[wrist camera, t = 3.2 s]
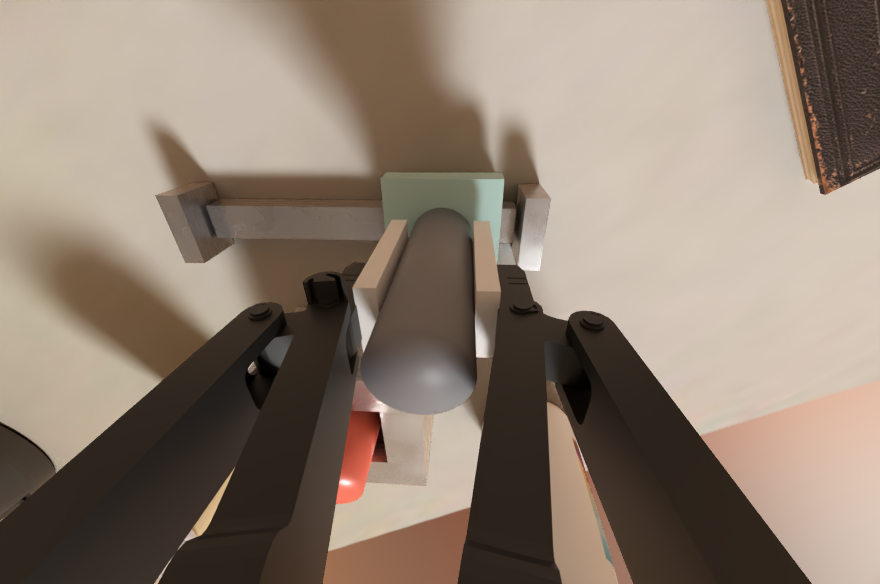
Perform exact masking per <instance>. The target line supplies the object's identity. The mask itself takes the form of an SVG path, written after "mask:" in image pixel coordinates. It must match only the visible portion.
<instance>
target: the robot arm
mask: <svg viewBox="0 0 880 584" xmlns="http://www.w3.org/2000/svg"><path fill="white" fill-rule="evenodd" d="M408 239H409V238H408V222H407V220H391V222H390V224H389V225H388V227H387V229H386V231H385V232H384V234H383V236H382V237H381V239H380V241H379V243H378V244H377V246H376V248H375V250H374V251H373V253H372V255H371V256H370V258H369V260H368V262H367V263H353V264H351V265H350V266H348V267H346V268H345V270H344V271H343V273H342V274H340V273H337V272H322V273H318V274H314V275H312V276H310V277H308V278H306V279H305V280H304V281H303V286H304V290H305V293H306V297H307V301H308V306H307V308H306V310H304V311H300V312H293V313H287V314H284V312H283V308H282V306H280V305H279V304H276V303H261V304H260V303H259V304H256V305H254V306H252V307H249V308H247V309H246V310H244V311H243V312H241V313H240V314H239V315H238V316H237V317H235V318H234V319H233V320H232V321H231V322H230V323H229V324H227V325H226V326H225V327H224V328H223V329H222V330H220V331H219V332H218V333H217V334H216V335H215V336H214V337H212V338H211V339H210V340H209V341H208V342H207V343H205V344H204V345H203V346H202V347H201V348H200V349H199V350H197V351H196V352H195V353H194V354H193V355H192V356H191V357H189V358H188V359H187V360H186V361H185V362H184V363H182V364H181V365H180V366H179V367H178V368H177V369H176V370H174V371H173V372H172V373H171V374H170V375H169V376H168V377H166V378H165V379H164V380H163V381H162V382H161V383H159V384H158V385H157V386H156V387H155V388H154V389H153V390H151V391H150V392H149V393H148V394H147V395H146V396H144V397H143V398H142V399H141V400H140V401H139V402H138V403H136V404H135V405H134V406H133V407H132V408H131V409H130V410H128V411H127V412H126V413H125V414H124V415H123V416H121V417H120V418H119V419H118V420H117V421H116V422H115V423H113V424H112V425H111V426H110V427H109V428H108V429H106V430H105V431H104V432H103V433H102V434H101V435H100V436H98V437H97V438H96V439H95V440H94V441H93V442H92V443H90V444H89V445H88V446H87V447H86V448H85V449H83V450H82V451H81V452H80V453H79V454H78V455H77V456H75V457H74V458H73V459H72V460H71V461H70V462H68V463H67V464H66V465H65V466H64V467H63V468H62V469H60V470H59V471H58V472H57V473H56V474H55V469H54V467H53V465H52V463H51V462H50V461H49V459H48V458H47V457H46V456H45V455H44V454H43V453H42V452H41V451H40V450H39V449H37V448H36V447H35V446H34V445H32V444H31V443H30V442H28V441H27V440H25V439H24V438H22V437H21V436H19V435H17V434H16V433H14V432H12V431H10V430H8V429H6V428H5V427H3V426H1V425H0V520H1V519H3V518H4V517H5V518H4V519H3V520H2V521H1V522H0V584H154V583H155V581H156V580H157V578H158V577H159V576H160V574H161V573H162V571H163V570H164V568H165V567H166V566H167V564H168V563H169V564H168V566H167V567H166V569H165V571H164V573H163V575H162V577H161V579H160V581H159V583H158V584H323V577H324V571H325V565H326V559H327V553H328V547H329V541H330V535H331V529H332V523H333V517H334V511H335V505H336V499H337V493H338V487H339V481H340V474H341V468H342V462H343V456H344V450H345V444H346V438H347V432H348V426H349V420H350V414H351V408H352V402H353V396H354V390H355V384H356V378H357V372H358V366H359V355H358V348H359V345H360V343H361V342H362V348H363V353H364V350H365V348H366V345H367V343H368V340H369V338H370V335H371V333H372V330H373V328H374V325H375V322H376V320H377V317H378V315H379V312H380V310H381V307H382V305H383V302H384V300H385V297H386V295H387V292H388V290H389V287H390V285H391V282H392V280H393V277H394V274H395V272H396V269H397V267H398V264H399V262H400V259H401V257H402V254H403V252H404V249H405V247H406V244H407V242H408ZM473 273H474V306H475V333H476V357H482V358H493V362H492V368H491V375H490V382H489V389H488V395H487V402H486V409H485V415H484V422H483V429H482V436H481V442H480V449H479V456H478V462H477V469H476V476H475V483H474V489H473V496H472V503H471V510H470V516H469V523H468V529H467V536H466V540H465V544H464V548H463V553H462V560H461V565H460V572H459V578H458V584H562V581H561V575H560V570H559V569H558V567H557V565H556V563H555V559H554V550H553V530H552V507H551V484H550V461H549V438H548V415H547V392H546V380H549V381H552V382H555V387H556V390H557V392H558V395H559V397H560V400H561V402H562V405H563V407H564V410H565V412H566V415H567V417H568V420H569V422H570V425H571V427H572V430H573V433H574V435H575V438H576V440H577V443H578V445H579V448H580V450H581V453H582V455H583V458H584V460H585V463H586V465H587V468H588V470H589V473H590V475H591V478H592V480H593V483H594V485H595V488H596V490H597V493H598V495H599V498H600V500H601V503H602V505H603V508H604V511H605V513H606V516H607V518H608V521H609V523H610V526H611V528H612V531H613V533H614V536H615V538H616V541H617V543H618V546H619V548H620V551H621V553H622V556H623V559H624V561H625V564H626V566H627V569H628V571H629V573H630V576H631V579H632V581H633V584H812V583H811V582H810V581H809V579H807V577H806V576H805V574H804V573H803V572H802V570H801V569H800V568H799V567H798V565H797V564H796V563H795V561H794V560H793V559H792V557H791V556H790V554H789V553H788V552H787V550H786V549H785V548H784V546H783V545H782V544H781V543H780V541H779V540H778V539H777V537H776V536H775V535H774V533H773V532H772V531H771V529H770V528H769V527H768V525H767V524H766V523H765V521H764V520H763V519H762V517H761V516H760V515H759V513H758V512H757V511H756V510H755V508H754V507H753V506H752V504H751V503H750V502H749V500H748V499H747V498H746V496H745V495H744V494H743V492H742V491H741V490H740V488H739V487H738V486H737V484H736V483H735V482H734V480H733V479H732V478H731V477H730V475H729V474H728V472H727V471H726V470H725V469H724V467H723V466H722V465H721V463H720V462H719V461H718V459H717V458H716V457H715V455H714V454H713V453H712V451H711V450H710V449H709V448H708V446H707V445H706V443H705V442H704V441H703V440H702V438H701V437H700V436H699V434H698V433H697V432H696V430H695V429H694V428H693V426H692V425H691V424H690V422H689V421H688V420H687V418H686V417H685V416H684V414H683V413H682V412H681V410H680V409H679V408H678V406H677V405H676V404H675V403H674V401H673V400H672V399H671V397H670V396H669V395H668V393H667V392H666V391H665V389H664V388H663V387H662V385H661V384H660V383H659V381H658V380H657V379H656V377H655V376H654V375H653V373H652V372H651V371H650V370H649V368H648V367H647V366H646V364H645V363H644V362H643V360H642V359H641V358H640V356H639V355H638V354H637V352H636V351H635V350H634V348H633V347H632V346H631V344H630V343H629V342H628V340H627V339H626V338H625V337H624V335H623V334H622V333H621V331H620V330H619V329H618V327H617V326H616V325H615V323H614V322H613V321H612V320H610V319H609V318H608V317H606V316H604V315H602V314H600V313H596V312H592V311H579V312H575V313H573V314H571V316H570V317H569V320H568V321H565V320H561V319H556V318H553V317H550V316H547V315H545V314H543V310H542V307H541V306H540V305H539V304H538V303H537V302H535V301H534V300H533V297H532V294H531V291H530V287H529V285H528V281H527V279H526V275H525V271H524V270H522V269H521V268H520V267H519V266H518V265H497V264H496V258H495V252H494V246H493V240H492V234H491V227H490V221H473ZM253 361H254V364H255V366H256V368H255V369H254V370H253V372H251V373H249V372H248V367H249V366H250V364H251V363H252V362H253ZM234 468H235V469H234ZM233 469H234V471H233ZM232 471H233V473H232V475H231V477H230V480H229V482H228V484H227V486H226V489H225V491H224V493H223V495H222V498H221V500H220V502H219V504H218V506H217V509H216V511H215V513H214V515H213V518H212V520H211V522H210V524H209V525H208V527H207V529H206V530H205V531H204V532H203V533H202V535H200V536H198V537H195V538H193V539H190V540H187V541H186V542H185V543H184V544H183V545H182V546H181V547H180V545H181V544H182V543H183V541H184V540H185V538H186V537H187V535H188V534H189V533H190V531H191V530H192V528H193V527H194V525H195V524H196V523H197V521H198V520H199V518H200V517H201V515H202V514H203V512H204V511H205V510H206V508H207V507H208V505H209V504H210V502H211V501H212V500H213V498H214V497H215V495H216V494H217V492H218V491H219V490H220V488H221V487H222V485H223V484H224V482H225V481H226V479H227V478H228V477H229V475H230V474H231V472H232ZM179 547H180V548H179ZM178 548H179V549H178ZM171 558H172V559H171ZM170 560H171V561H170ZM169 561H170V562H169Z"/></svg>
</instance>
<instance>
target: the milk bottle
mask: <svg viewBox="0 0 880 584" xmlns="http://www.w3.org/2000/svg"><path fill="white" fill-rule="evenodd" d="M547 415H548V438H549V461H550V484H551V507H552V530H553V550H554V559H555V563H556V565H557V567H558V569H559V570H560V575H561V581H562V584H618V581H617V577H616V574H615V570H614V566H613V563H612V559H611V555H610V551H609V548H608V544H607V541H606V538H605V534H604V531H603V528H602V525H601V521H600V518H599V514H598V511H597V507H596V504H595V501H594V497H593V494H592V491H591V488H590V484H589V481H588V478H587V475H586V471H585V468H584V465H583V461H582V458H581V455H580V452H579V449H578V445H577V442H576V439H575V436H574V433H573V430H572V427H571V425H570V422H569V420H568V417H567V416H566V415H565V413H564V412H563V411H562V410H561V409H560V408H559V407H557V406H555V405H554V404H552V403H550V402H547ZM482 429H483V424H482Z"/></svg>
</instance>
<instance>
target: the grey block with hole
mask: <svg viewBox="0 0 880 584" xmlns="http://www.w3.org/2000/svg"><path fill="white" fill-rule="evenodd" d="M306 308H307V307H297V308H296V310H295V311H294V312H300V311H304V310H306ZM358 355H359V366H358V372H357V378H356V384H355V390H354V396H353V402H352V408H351V411H370V412H380V417H381V426H380V429H379V433H378V437H377V441H376V445H375V449H374V452H373V456H372V460H371V464H370V468H369V472H368V476H367V479H366V482H372V483H387V484H402V485H418V486H426V483H427V473H428V464H429V454H430V445H431V435H432V426H433V416H434V414H430V415H419V414H411V413H406V412H402V411H399V410H396V409H394V408H391V407H389V406H387V405H386V404H384V403H382V402H381V401H380V400H378V399H377V398H376V397H375V396H374V395H373V394H371V392H370V391H369V390H368V389H367V387H366V385H365V384H364V382H363V379H362V376H361V372H360V363H361V358H362V355H363V348H362V342H361V343H360V345H359V348H358ZM255 368H256V366H255V364H254V363H253V365H252V366H251V367H250V369H249V370H248V372H249V373H251V372H253V370H254V369H255Z"/></svg>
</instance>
